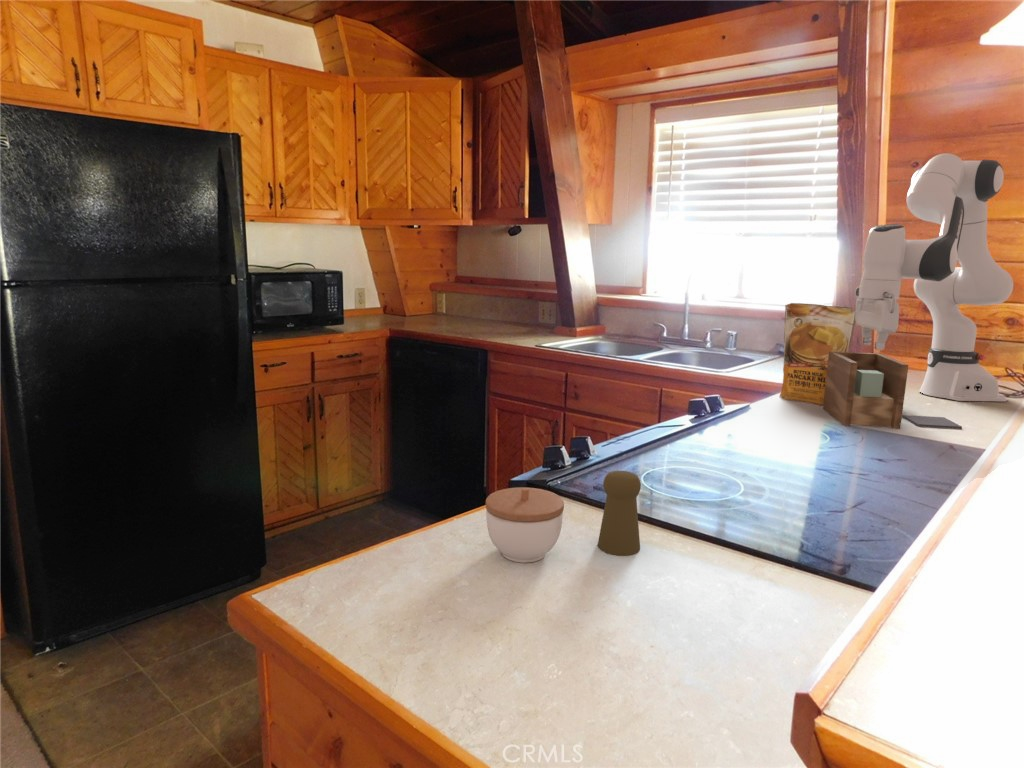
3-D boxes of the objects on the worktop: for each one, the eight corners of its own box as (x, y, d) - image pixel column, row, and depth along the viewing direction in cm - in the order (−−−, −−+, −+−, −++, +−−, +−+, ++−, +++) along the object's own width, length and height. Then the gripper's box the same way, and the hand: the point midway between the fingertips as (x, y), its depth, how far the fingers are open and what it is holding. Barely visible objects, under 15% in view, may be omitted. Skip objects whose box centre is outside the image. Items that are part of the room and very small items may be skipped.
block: (874, 393, 174) (877, 370, 173) (881, 397, 170) (884, 373, 168) (853, 392, 175) (856, 369, 174) (859, 396, 170) (862, 372, 169)
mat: (943, 419, 178) (944, 417, 178) (961, 429, 168) (961, 426, 168) (902, 417, 179) (902, 415, 179) (917, 426, 170) (918, 424, 170)
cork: (622, 535, 101) (626, 464, 99) (649, 550, 96) (653, 476, 94) (589, 542, 98) (592, 469, 96) (614, 559, 93) (618, 482, 91)
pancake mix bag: (781, 394, 206) (790, 302, 201) (847, 405, 193) (858, 306, 188) (771, 397, 202) (780, 303, 196) (838, 408, 188) (849, 307, 183)
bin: (873, 411, 186) (880, 353, 183) (900, 429, 167) (908, 364, 164) (822, 408, 188) (829, 351, 185) (843, 425, 169) (851, 362, 166)
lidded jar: (537, 532, 101) (539, 472, 100) (577, 561, 92) (579, 495, 90) (472, 545, 96) (472, 482, 95) (507, 577, 87) (508, 508, 85)
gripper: (909, 294, 157) (902, 353, 159) (879, 290, 177) (872, 342, 179) (880, 293, 158) (873, 352, 160) (853, 289, 178) (847, 341, 180)
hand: (872, 347), depth 170 cm, fingers open, 8 cm apart
